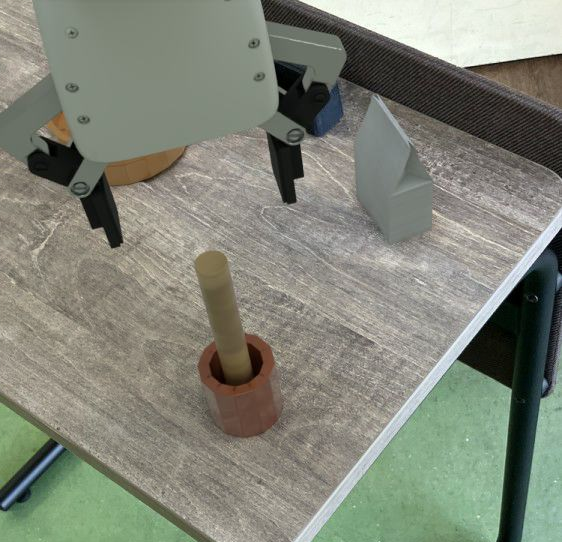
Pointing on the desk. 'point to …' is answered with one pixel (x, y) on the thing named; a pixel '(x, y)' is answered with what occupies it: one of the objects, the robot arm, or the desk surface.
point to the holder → (242, 391)
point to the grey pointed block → (391, 176)
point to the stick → (224, 316)
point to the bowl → (123, 169)
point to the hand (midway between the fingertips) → (199, 208)
